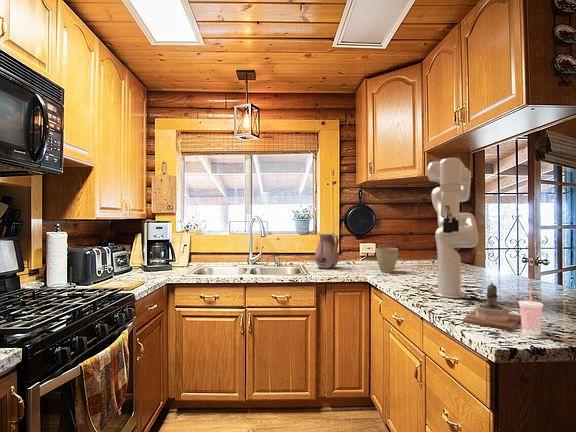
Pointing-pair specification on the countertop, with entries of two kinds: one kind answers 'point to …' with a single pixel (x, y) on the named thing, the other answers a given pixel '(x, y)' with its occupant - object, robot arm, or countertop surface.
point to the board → (493, 318)
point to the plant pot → (386, 259)
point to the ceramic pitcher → (327, 251)
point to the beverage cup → (531, 316)
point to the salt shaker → (492, 298)
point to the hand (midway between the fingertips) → (451, 232)
